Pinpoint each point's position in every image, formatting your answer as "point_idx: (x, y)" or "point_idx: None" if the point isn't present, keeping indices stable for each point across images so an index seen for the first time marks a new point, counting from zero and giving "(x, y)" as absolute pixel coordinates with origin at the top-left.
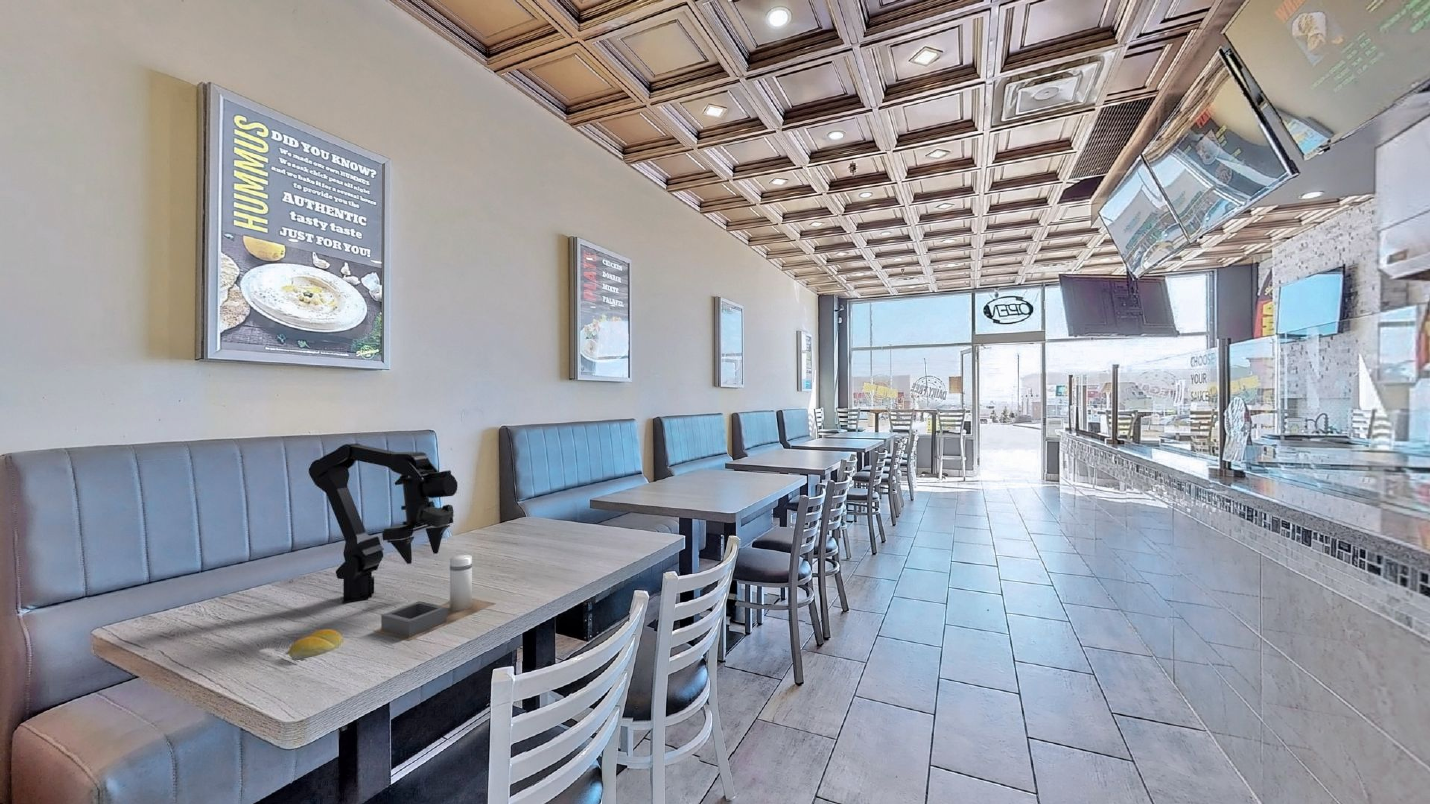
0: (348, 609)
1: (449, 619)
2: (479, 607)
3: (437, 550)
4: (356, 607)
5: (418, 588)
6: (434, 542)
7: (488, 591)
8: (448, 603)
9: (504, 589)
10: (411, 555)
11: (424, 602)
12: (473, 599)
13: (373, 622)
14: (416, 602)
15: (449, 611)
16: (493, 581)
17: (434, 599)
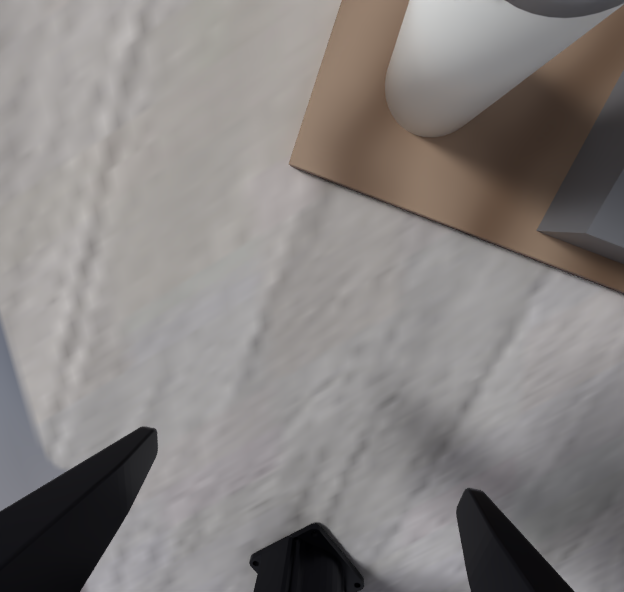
0: (417, 534)
1: (608, 39)
2: None
3: (135, 443)
4: (398, 521)
5: (192, 426)
6: (66, 556)
7: (172, 96)
8: (384, 181)
9: (131, 20)
10: (516, 561)
11: (615, 188)
12: (325, 78)
13: (550, 388)
14: (609, 236)
15: (491, 110)
16: (44, 151)
17: (300, 297)
